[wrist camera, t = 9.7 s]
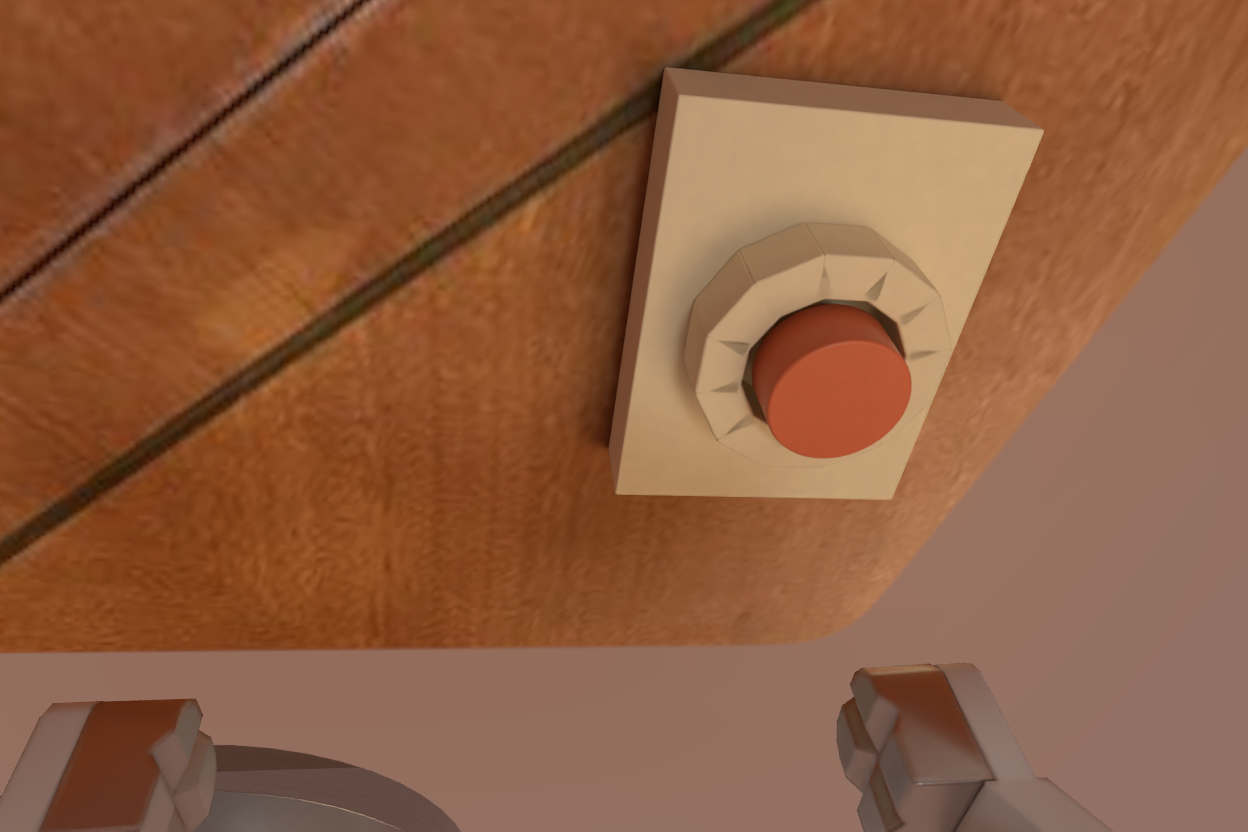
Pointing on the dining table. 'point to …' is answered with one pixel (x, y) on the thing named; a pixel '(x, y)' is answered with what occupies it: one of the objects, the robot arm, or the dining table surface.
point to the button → (830, 381)
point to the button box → (799, 265)
